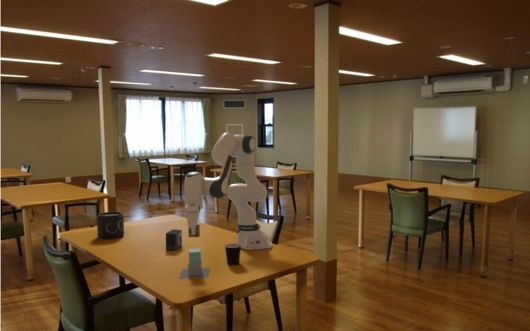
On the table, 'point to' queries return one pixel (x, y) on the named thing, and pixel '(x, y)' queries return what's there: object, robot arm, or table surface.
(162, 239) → the table surface
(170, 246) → the small box
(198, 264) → the slate block
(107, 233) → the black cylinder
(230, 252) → the coffee mug
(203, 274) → the mat
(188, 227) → the walnut block
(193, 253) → the teal block
